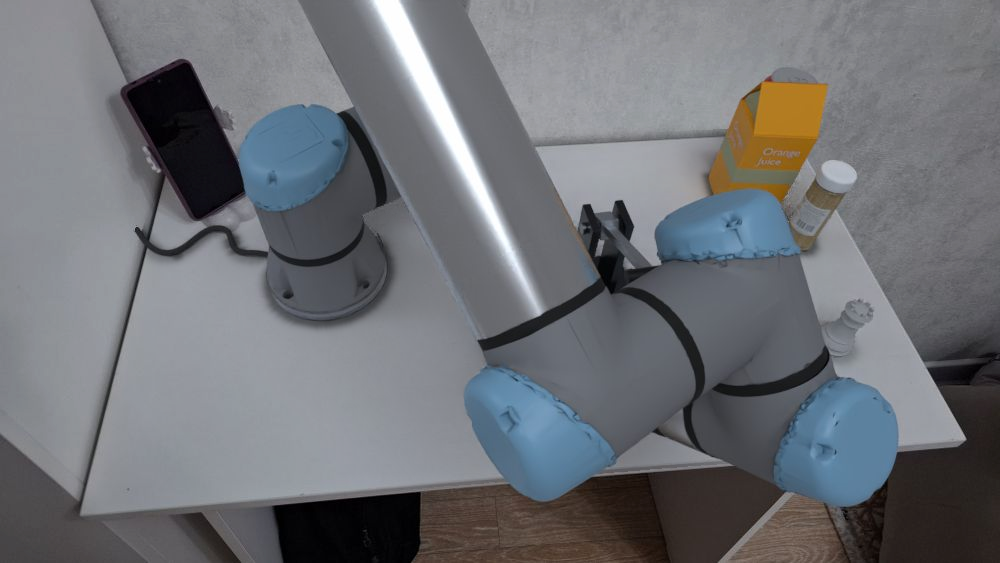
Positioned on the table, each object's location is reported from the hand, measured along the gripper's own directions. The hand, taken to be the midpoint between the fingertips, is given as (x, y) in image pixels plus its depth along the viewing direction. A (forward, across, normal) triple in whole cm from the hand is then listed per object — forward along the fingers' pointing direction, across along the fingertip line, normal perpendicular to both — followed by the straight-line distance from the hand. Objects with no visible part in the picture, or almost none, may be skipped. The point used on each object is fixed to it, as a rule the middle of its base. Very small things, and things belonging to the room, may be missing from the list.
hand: (551, 352), depth 68 cm
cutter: (+11, +14, +1) cm, 17 cm away
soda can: (+15, +52, +5) cm, 55 cm away
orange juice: (+12, +44, +2) cm, 46 cm away
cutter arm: (-3, +11, +7) cm, 13 cm away
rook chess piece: (-6, +34, -16) cm, 38 cm away
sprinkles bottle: (+4, +44, -6) cm, 45 cm away
